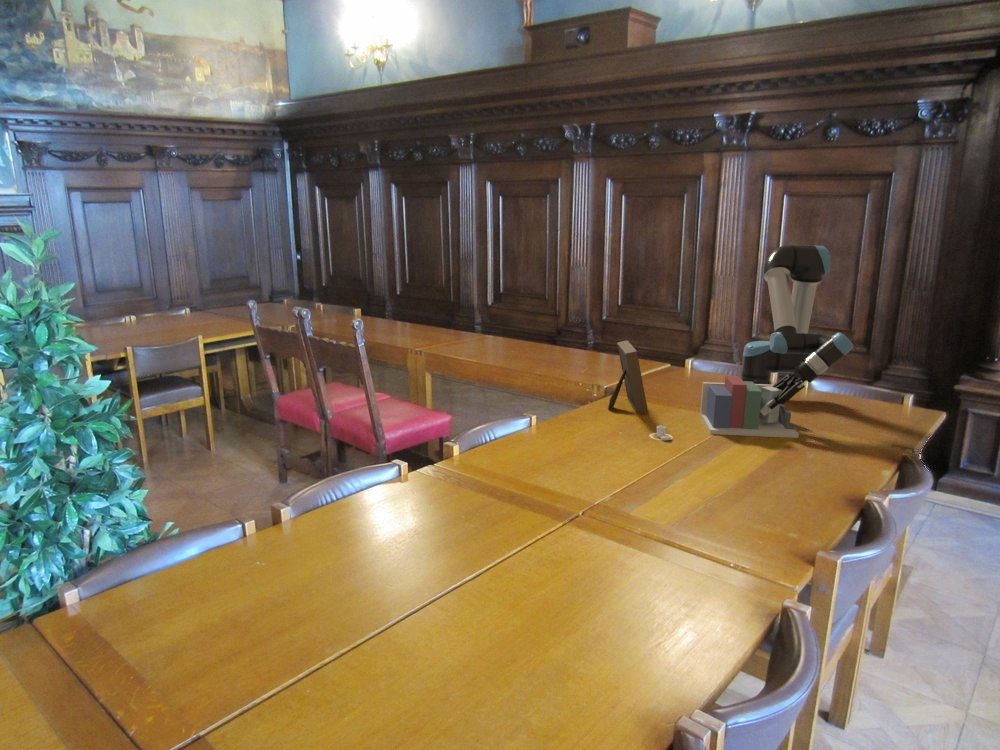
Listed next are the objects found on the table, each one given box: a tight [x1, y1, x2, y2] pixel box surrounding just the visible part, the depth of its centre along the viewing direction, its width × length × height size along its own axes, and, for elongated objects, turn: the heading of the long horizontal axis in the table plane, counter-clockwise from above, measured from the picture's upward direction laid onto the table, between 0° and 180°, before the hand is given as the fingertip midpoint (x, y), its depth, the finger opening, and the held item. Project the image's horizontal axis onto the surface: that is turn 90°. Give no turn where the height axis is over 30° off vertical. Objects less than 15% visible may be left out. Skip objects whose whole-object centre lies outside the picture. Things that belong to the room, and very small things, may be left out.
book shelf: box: [699, 375, 800, 439], centre depth 244 cm, size 22×30×18 cm
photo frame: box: [607, 340, 649, 415], centre depth 268 cm, size 15×22×25 cm
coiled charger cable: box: [648, 424, 674, 441], centre depth 234 cm, size 9×8×4 cm
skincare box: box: [759, 386, 782, 423], centre depth 242 cm, size 6×4×12 cm
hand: (759, 410), depth 243 cm, fingers closed on skincare box, 7 cm apart
